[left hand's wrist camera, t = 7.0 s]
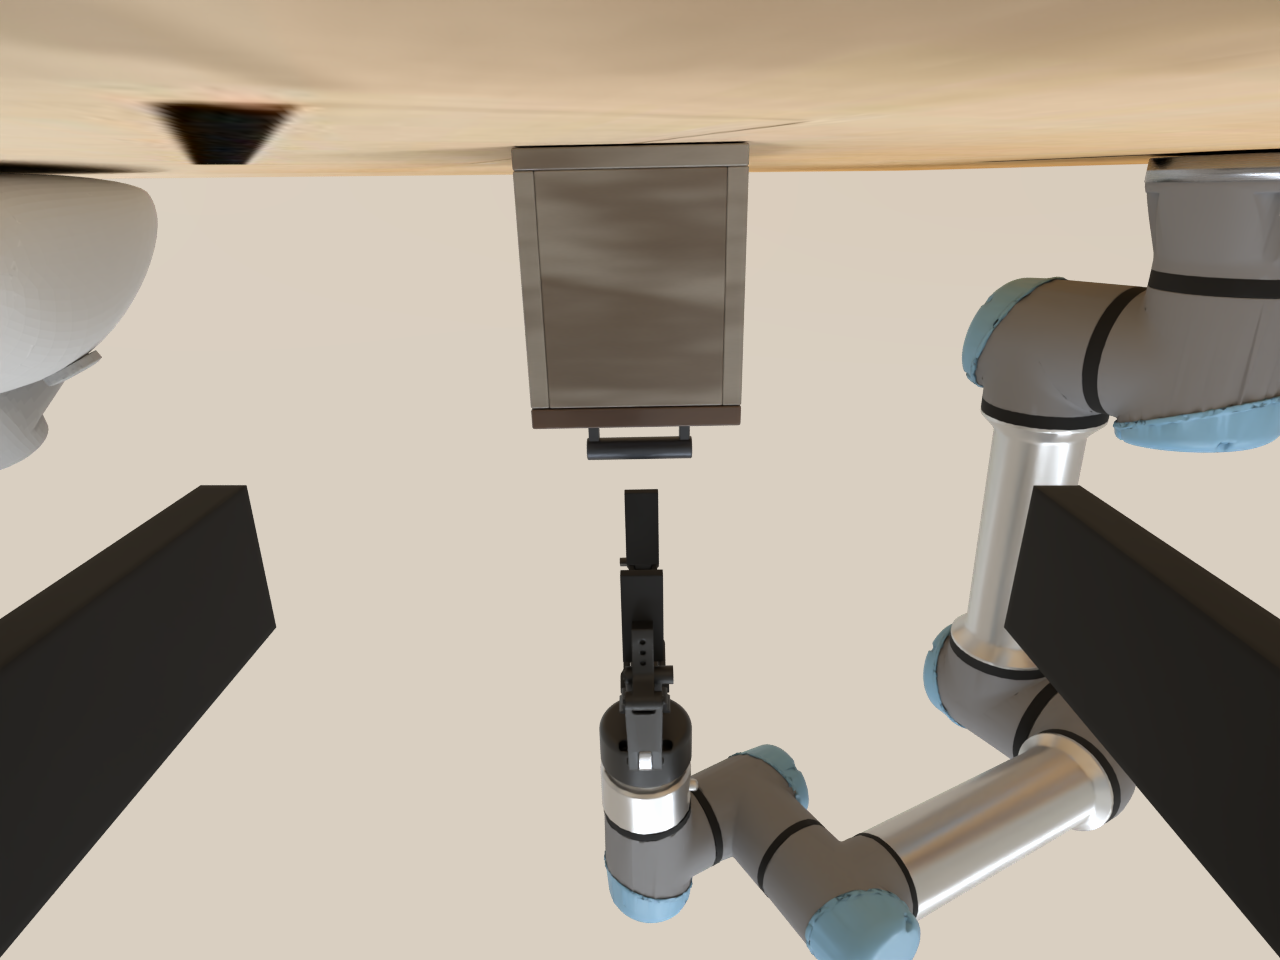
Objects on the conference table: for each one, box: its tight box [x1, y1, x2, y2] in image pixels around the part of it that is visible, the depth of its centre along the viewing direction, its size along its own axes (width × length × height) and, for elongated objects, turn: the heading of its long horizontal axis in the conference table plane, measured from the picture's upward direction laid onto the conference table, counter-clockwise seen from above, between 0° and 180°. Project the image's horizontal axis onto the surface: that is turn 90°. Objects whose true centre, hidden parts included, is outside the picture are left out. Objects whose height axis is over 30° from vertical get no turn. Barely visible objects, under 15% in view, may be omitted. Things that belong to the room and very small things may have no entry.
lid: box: [531, 404, 741, 460], centre depth 43 cm, size 18×10×8 cm, turn 0°
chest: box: [511, 143, 749, 408], centre depth 39 cm, size 17×10×11 cm, turn 0°
